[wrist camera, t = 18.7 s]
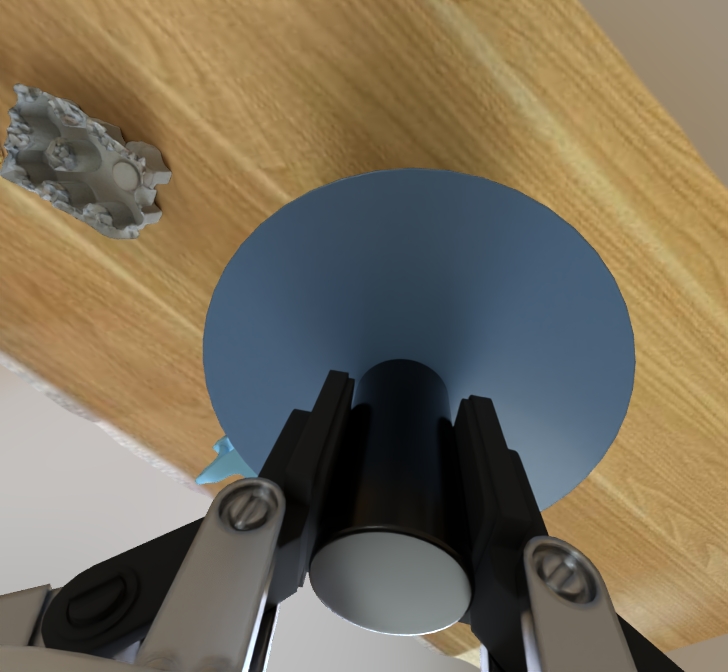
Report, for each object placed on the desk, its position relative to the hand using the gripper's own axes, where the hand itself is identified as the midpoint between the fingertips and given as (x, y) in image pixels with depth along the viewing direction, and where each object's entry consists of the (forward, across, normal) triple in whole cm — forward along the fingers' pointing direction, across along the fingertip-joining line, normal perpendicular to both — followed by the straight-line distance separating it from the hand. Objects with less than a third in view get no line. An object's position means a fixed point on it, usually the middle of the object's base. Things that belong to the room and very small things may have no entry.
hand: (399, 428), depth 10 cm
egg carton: (+21, +25, -4) cm, 33 cm away
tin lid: (+2, 0, 0) cm, 2 cm away
